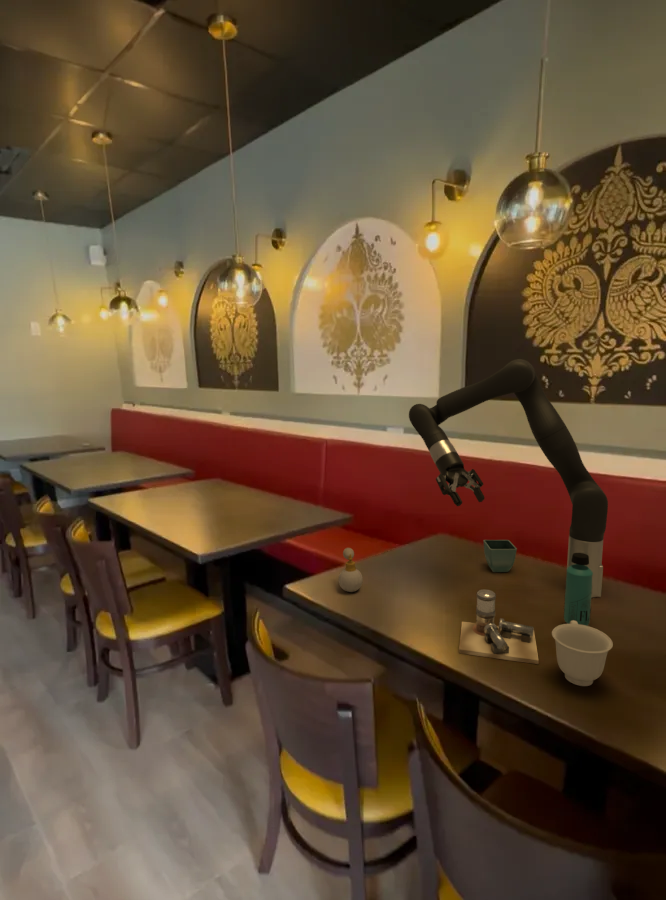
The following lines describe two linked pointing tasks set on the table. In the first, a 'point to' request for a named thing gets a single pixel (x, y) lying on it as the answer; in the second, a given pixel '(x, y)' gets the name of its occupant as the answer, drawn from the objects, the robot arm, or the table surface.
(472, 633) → the base board
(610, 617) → the table surface
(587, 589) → the beverage bottle
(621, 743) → the table surface
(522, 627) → the shaft
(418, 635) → the table surface
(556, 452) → the robot arm
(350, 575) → the perfume bottle
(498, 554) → the flower pot
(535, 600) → the table surface
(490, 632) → the shaft
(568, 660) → the teacup
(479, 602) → the disc
